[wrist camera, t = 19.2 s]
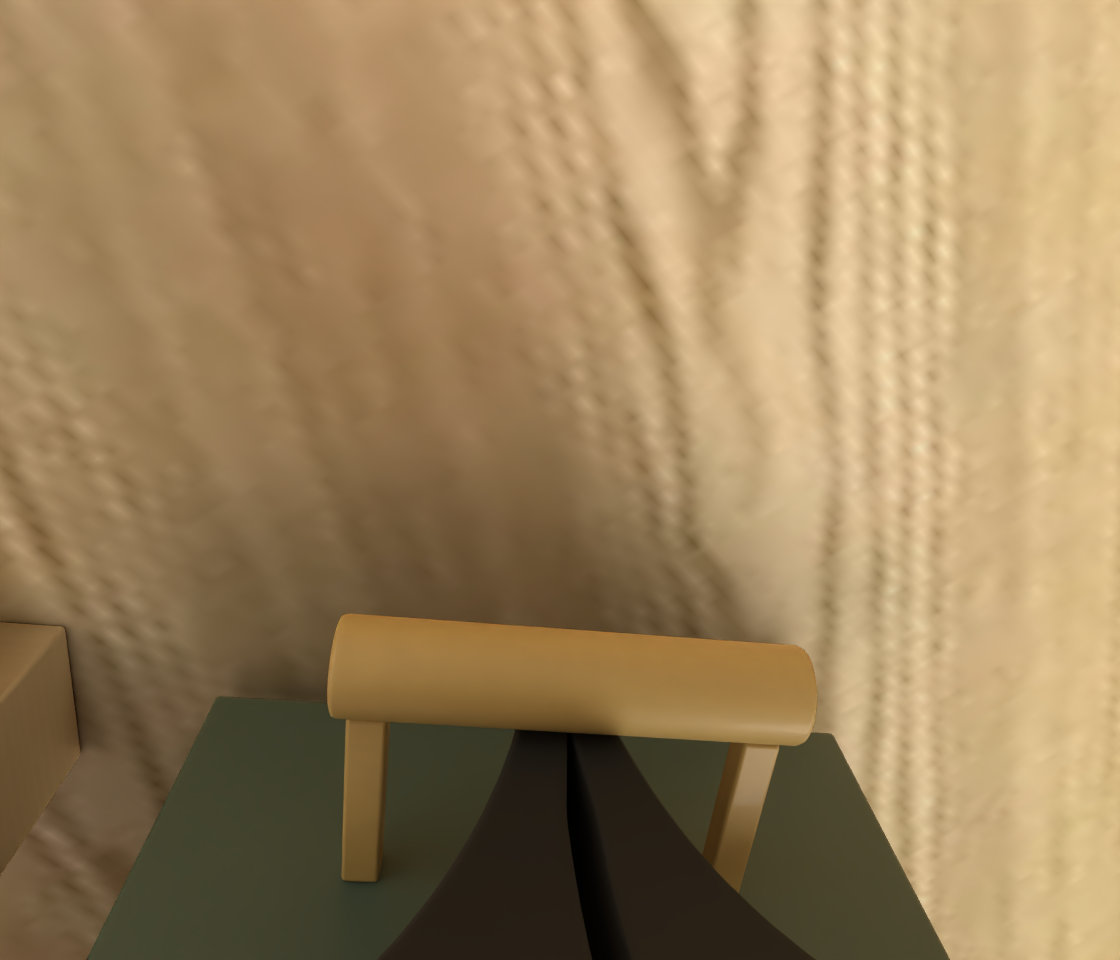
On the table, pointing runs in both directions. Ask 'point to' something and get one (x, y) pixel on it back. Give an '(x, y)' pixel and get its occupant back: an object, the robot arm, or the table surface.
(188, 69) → the table surface
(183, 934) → the drawer
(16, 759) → the metal-capped square post
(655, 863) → the robot arm
